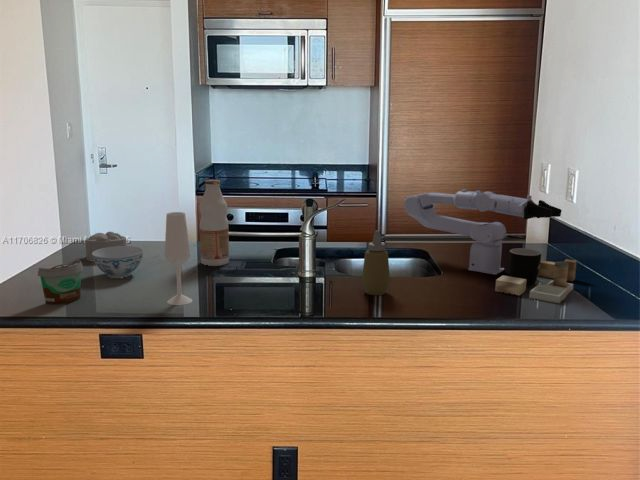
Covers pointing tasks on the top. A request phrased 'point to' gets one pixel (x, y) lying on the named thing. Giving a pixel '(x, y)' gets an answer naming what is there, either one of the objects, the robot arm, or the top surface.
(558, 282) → the dowel
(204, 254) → the fruit juice
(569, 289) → the collar
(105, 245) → the lumpy-topped squat cylinder
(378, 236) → the squeeze bottle
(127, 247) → the chinaware
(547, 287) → the tray
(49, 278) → the food container
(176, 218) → the champagne flute
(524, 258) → the mug
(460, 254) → the top surface
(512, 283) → the push block
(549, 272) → the bench stop
